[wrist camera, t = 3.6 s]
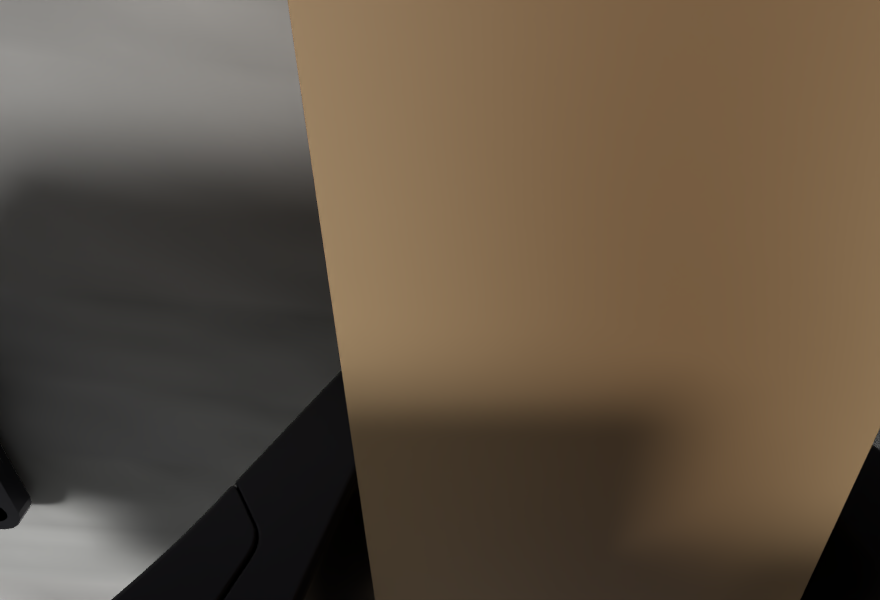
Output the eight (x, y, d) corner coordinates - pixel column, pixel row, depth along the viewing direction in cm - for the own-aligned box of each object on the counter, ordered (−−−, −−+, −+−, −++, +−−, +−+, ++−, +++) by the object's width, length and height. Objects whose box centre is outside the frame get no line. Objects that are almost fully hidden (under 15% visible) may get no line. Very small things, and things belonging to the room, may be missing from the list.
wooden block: (425, 448, 12) (401, 774, 8) (381, -316, 6) (192, -637, 2) (628, 450, 12) (714, 785, 7) (769, -335, 6) (1420, -735, 2)
